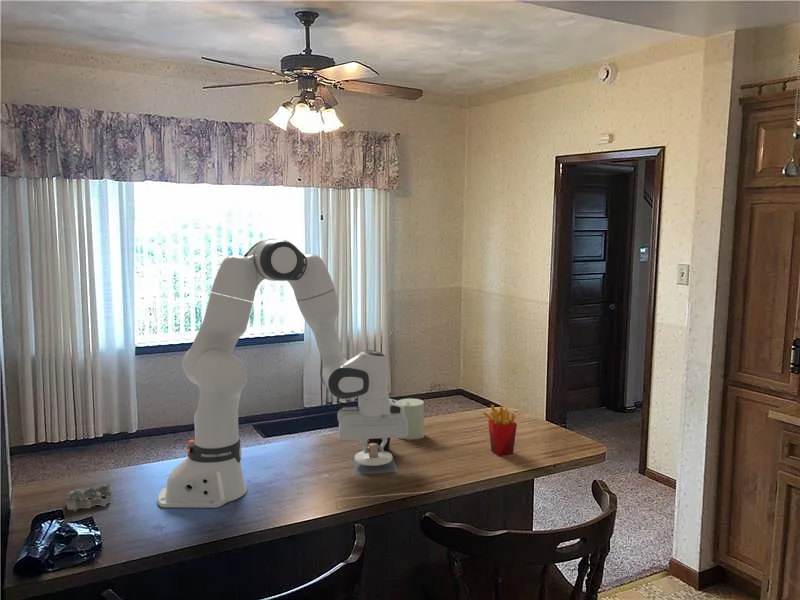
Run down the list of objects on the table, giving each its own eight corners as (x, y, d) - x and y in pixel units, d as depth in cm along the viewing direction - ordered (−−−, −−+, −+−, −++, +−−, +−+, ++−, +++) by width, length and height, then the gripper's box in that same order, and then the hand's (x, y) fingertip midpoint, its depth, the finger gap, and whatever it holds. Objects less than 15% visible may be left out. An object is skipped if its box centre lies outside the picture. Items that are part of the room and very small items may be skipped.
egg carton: (65, 514, 167) (63, 498, 167) (68, 502, 174) (67, 487, 174) (111, 507, 171) (110, 491, 170) (113, 495, 178) (111, 480, 178)
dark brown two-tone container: (392, 456, 204) (391, 424, 203) (363, 456, 204) (363, 424, 203) (393, 443, 216) (392, 413, 215) (366, 443, 216) (365, 413, 215)
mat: (356, 475, 189) (356, 474, 189) (352, 460, 201) (352, 459, 201) (398, 472, 191) (398, 471, 191) (392, 457, 203) (392, 456, 203)
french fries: (506, 447, 210) (506, 401, 209) (520, 456, 203) (520, 408, 201) (481, 451, 207) (481, 404, 205) (494, 460, 200) (494, 411, 198)
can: (393, 439, 220) (392, 403, 218) (401, 430, 228) (400, 396, 227) (420, 441, 217) (419, 405, 216) (427, 432, 226) (427, 398, 224)
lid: (356, 466, 189) (356, 452, 188) (352, 453, 200) (352, 439, 199) (395, 464, 191) (395, 450, 190) (389, 451, 201) (389, 437, 201)
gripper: (338, 410, 189) (338, 458, 190) (409, 407, 192) (409, 454, 193) (336, 404, 195) (336, 450, 196) (406, 401, 198) (405, 447, 200)
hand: (373, 452), depth 195 cm, fingers closed on lid, 3 cm apart
